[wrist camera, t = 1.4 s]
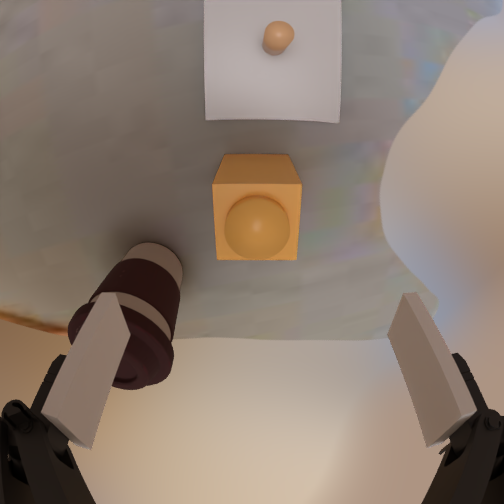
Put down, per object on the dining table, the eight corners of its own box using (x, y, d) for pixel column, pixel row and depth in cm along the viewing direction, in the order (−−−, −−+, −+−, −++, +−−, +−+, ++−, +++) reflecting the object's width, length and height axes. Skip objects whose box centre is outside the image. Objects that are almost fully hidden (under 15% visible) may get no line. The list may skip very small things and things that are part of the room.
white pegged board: (207, 119, 25) (192, 129, 19) (206, -16, 18) (191, -43, 12) (336, 121, 25) (360, 133, 19) (337, -11, 18) (361, -35, 12)
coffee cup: (212, 275, 35) (192, 384, 22) (157, 310, 38) (126, 407, 25) (152, 213, 30) (92, 308, 18) (102, 259, 34) (45, 349, 21)
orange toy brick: (226, 211, 30) (215, 268, 22) (224, 154, 27) (209, 190, 18) (285, 211, 30) (298, 269, 22) (288, 154, 27) (304, 190, 18)
